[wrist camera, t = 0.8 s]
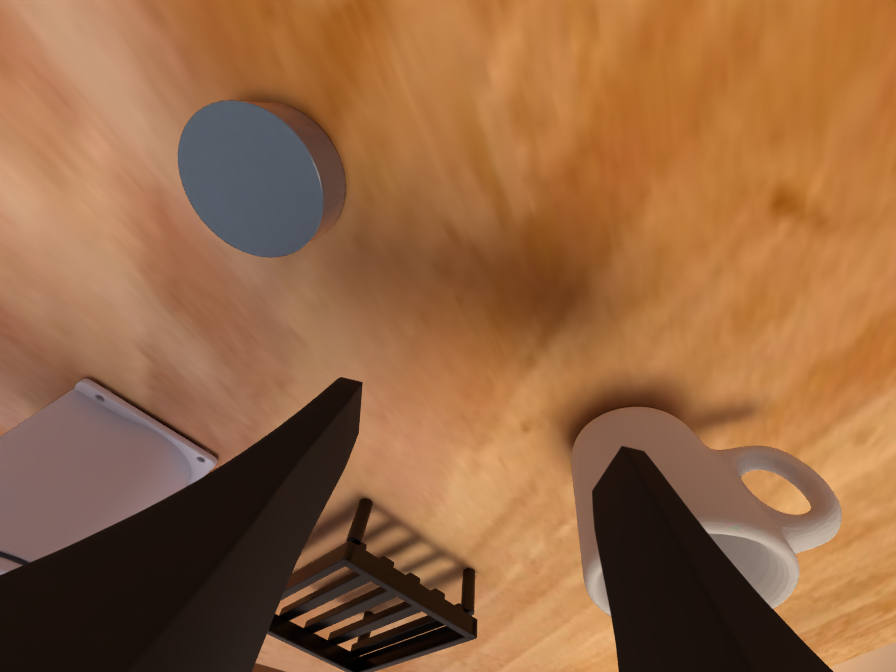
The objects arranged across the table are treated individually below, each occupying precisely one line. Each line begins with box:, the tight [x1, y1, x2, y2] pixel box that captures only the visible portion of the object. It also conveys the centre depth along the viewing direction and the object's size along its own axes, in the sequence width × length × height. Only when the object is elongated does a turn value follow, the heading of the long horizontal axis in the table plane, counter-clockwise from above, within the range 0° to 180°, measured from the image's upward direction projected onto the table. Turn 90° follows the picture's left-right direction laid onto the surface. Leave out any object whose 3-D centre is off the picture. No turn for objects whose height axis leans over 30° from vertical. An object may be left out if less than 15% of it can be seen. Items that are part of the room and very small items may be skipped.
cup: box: [571, 407, 841, 616], centre depth 18 cm, size 11×8×8 cm
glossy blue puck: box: [178, 100, 346, 257], centre depth 15 cm, size 6×6×3 cm
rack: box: [267, 498, 477, 672], centre depth 30 cm, size 12×14×4 cm
